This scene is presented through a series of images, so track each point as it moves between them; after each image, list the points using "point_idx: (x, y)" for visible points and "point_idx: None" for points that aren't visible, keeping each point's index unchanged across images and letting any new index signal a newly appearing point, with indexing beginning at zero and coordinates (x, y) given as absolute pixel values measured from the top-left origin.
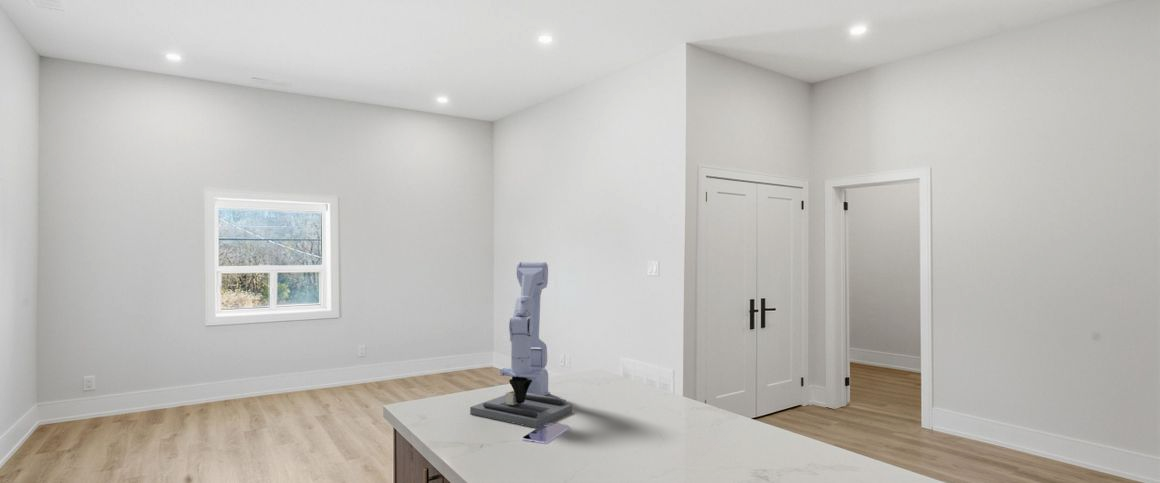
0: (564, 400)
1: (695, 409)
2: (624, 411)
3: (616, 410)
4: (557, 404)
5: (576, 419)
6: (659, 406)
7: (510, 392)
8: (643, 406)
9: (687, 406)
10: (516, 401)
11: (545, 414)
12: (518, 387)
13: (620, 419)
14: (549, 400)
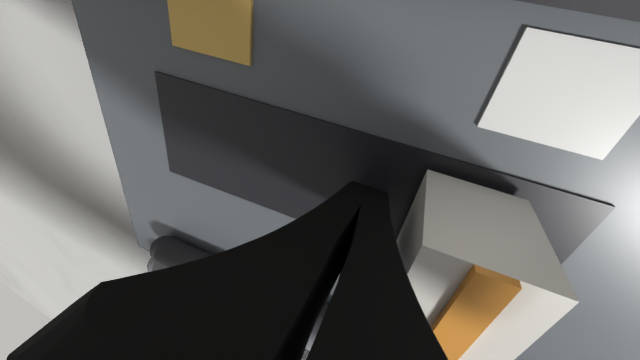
0: (147, 265)
1: (2, 271)
2: (65, 247)
3: (84, 254)
4: (177, 239)
5: (82, 128)
6: (53, 289)
7: (478, 276)
8: (72, 289)
9: (25, 289)
10: (407, 224)
11: (99, 30)
12: (273, 279)
13: (8, 170)
14: None
